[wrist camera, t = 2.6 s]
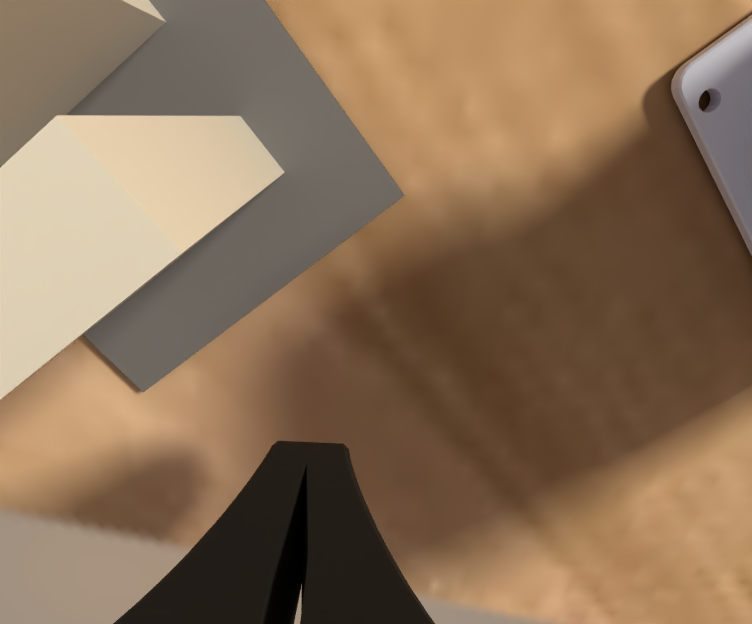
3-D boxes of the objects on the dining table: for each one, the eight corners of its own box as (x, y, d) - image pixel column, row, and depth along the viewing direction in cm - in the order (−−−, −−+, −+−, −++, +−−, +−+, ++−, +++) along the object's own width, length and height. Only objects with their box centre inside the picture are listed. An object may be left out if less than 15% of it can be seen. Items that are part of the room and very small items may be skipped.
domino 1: (284, 172, 13) (182, 252, 5) (136, 291, 14) (-133, 506, 6) (240, 115, 12) (56, 114, 5) (89, 243, 13) (-264, 411, 6)
